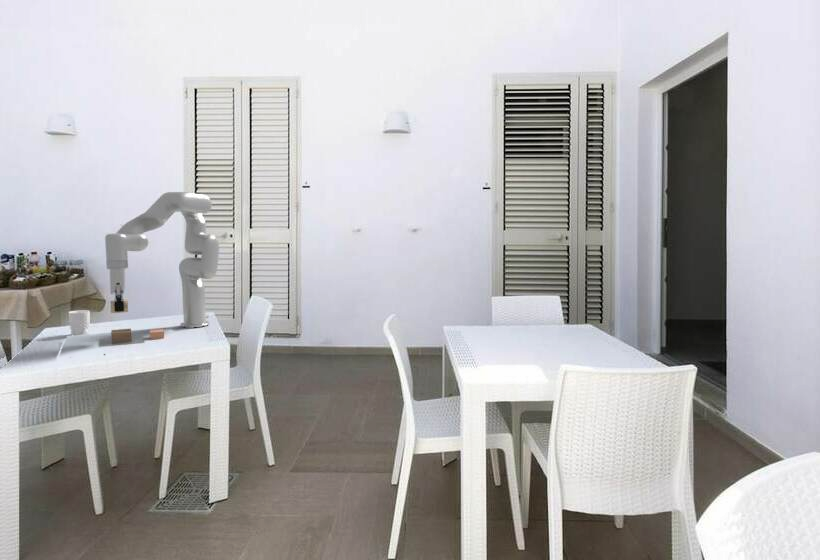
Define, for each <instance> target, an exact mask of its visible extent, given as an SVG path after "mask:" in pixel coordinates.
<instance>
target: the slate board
mask: <svg viewBox="0 0 820 560" xmlns="http://www.w3.org/2000/svg"><path fill="white" fill-rule="evenodd" d="M131 338H132V342H121V343H112V338H111V337H105V338H99V341H98V348H102V347H103V348H105V347H111V346H112V347H114V346H116V347H117V346H127V345H134V344H136V345H137V344H145V338H144V335H143V334H141V335H140V334H139V335H138V334H137V335H131Z"/></svg>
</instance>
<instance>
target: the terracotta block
mask: <svg viewBox="0 0 820 560" xmlns="http://www.w3.org/2000/svg"><path fill="white" fill-rule="evenodd" d="M149 338H150V340H158V339H159V340H160V339H162V340H163V339H165V332H164V329H163V328H161V329H151V330H149Z"/></svg>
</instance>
